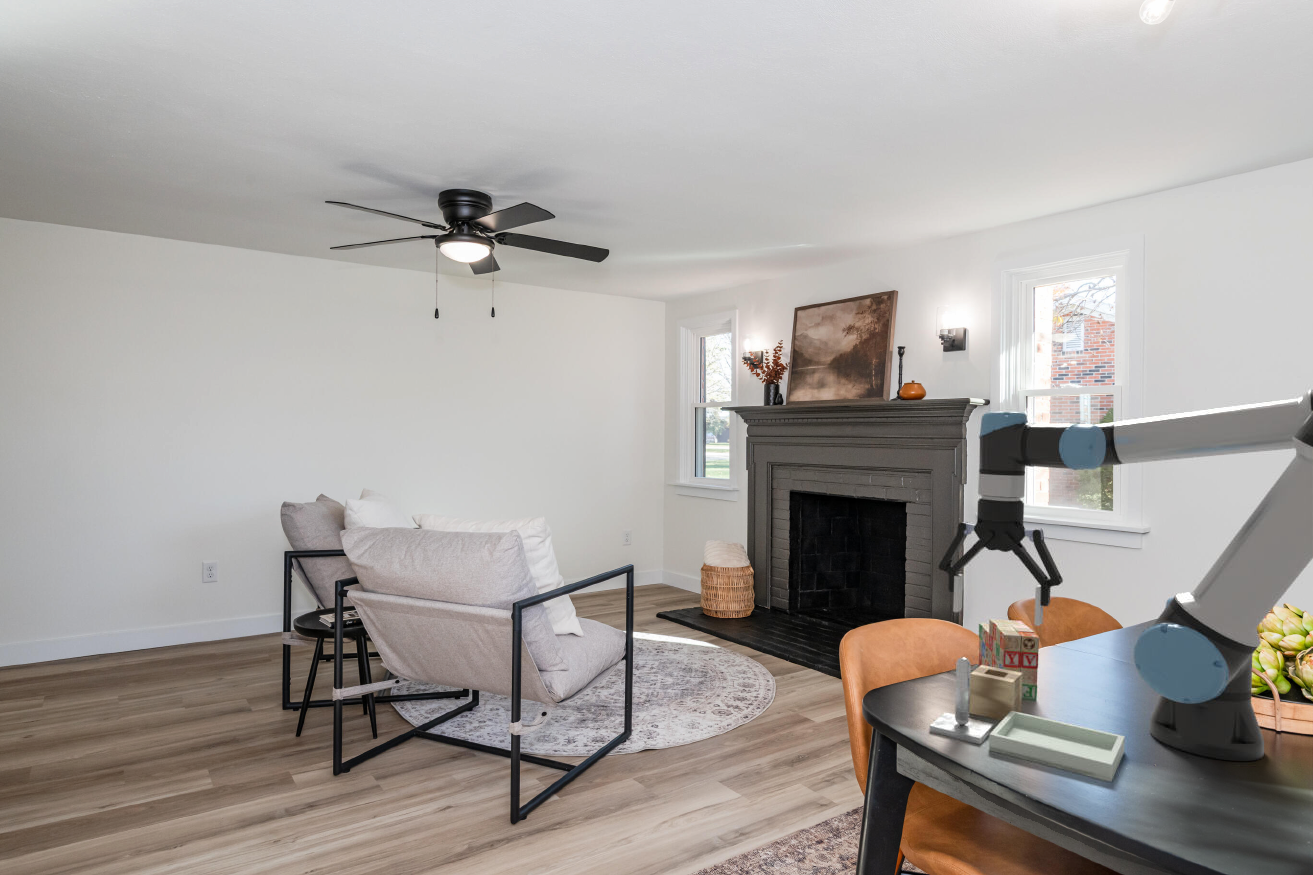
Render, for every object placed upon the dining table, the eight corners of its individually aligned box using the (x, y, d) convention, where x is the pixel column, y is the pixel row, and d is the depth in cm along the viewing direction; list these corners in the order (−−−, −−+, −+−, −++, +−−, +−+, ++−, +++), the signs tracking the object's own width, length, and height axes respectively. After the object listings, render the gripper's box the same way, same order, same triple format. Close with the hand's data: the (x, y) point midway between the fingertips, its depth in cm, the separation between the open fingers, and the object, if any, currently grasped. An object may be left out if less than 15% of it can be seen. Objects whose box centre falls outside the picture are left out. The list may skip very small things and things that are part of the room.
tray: (1124, 752, 120) (1124, 736, 120) (1111, 781, 109) (1111, 764, 109) (1010, 725, 130) (1011, 710, 130) (989, 750, 120) (989, 734, 120)
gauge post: (993, 729, 128) (995, 657, 128) (980, 744, 122) (982, 668, 122) (944, 717, 133) (946, 648, 133) (929, 731, 127) (931, 658, 126)
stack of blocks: (977, 665, 165) (979, 608, 165) (1008, 667, 164) (1010, 610, 164) (1002, 698, 144) (1003, 633, 144) (1037, 701, 143) (1039, 635, 143)
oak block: (1021, 711, 137) (1022, 672, 137) (1011, 722, 131) (1012, 682, 131) (980, 702, 141) (981, 664, 141) (969, 712, 136) (970, 673, 136)
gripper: (1083, 502, 131) (1079, 625, 131) (936, 492, 147) (933, 602, 147) (1075, 505, 125) (1071, 634, 126) (923, 494, 141) (919, 608, 141)
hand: (996, 617), depth 136 cm, fingers open, 13 cm apart
